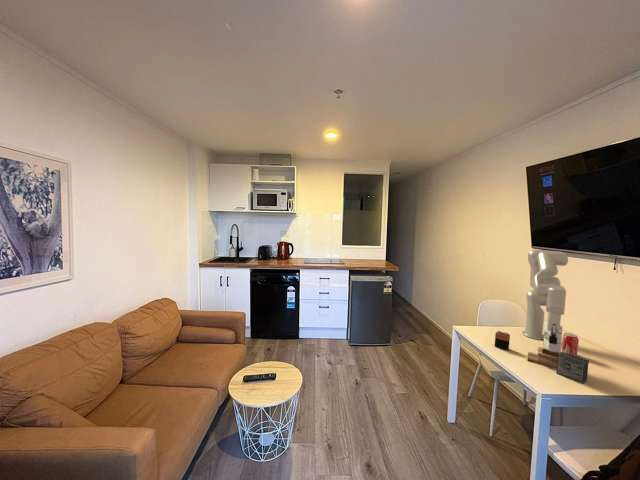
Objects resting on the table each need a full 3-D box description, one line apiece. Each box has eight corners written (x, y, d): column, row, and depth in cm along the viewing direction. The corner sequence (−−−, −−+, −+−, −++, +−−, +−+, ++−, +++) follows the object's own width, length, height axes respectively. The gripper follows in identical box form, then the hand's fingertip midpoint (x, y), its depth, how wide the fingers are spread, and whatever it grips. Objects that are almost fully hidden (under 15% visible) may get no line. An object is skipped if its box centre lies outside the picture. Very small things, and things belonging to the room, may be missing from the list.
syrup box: (561, 352, 146) (563, 326, 145) (548, 351, 147) (550, 325, 146) (554, 347, 151) (556, 322, 150) (542, 346, 153) (544, 321, 152)
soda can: (560, 350, 166) (562, 331, 165) (575, 353, 162) (577, 334, 161) (562, 354, 160) (563, 335, 159) (578, 358, 156) (580, 338, 155)
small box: (587, 380, 134) (589, 359, 133) (583, 384, 131) (585, 363, 130) (560, 370, 143) (562, 350, 142) (555, 373, 139) (557, 354, 139)
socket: (528, 353, 160) (528, 344, 160) (574, 365, 148) (574, 355, 147) (527, 360, 152) (528, 351, 151) (576, 374, 139) (577, 363, 139)
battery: (507, 350, 163) (508, 334, 163) (494, 346, 168) (495, 331, 168) (509, 348, 166) (510, 332, 166) (496, 344, 171) (497, 329, 171)
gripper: (546, 304, 157) (543, 334, 158) (546, 312, 143) (543, 344, 144) (563, 307, 152) (560, 338, 153) (565, 315, 139) (562, 348, 140)
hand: (552, 340), depth 149 cm, fingers closed on syrup box, 7 cm apart
